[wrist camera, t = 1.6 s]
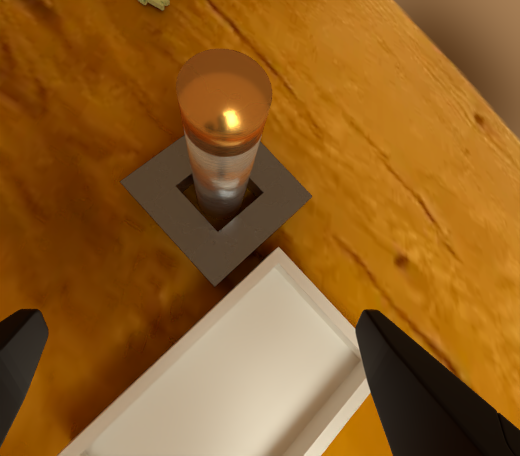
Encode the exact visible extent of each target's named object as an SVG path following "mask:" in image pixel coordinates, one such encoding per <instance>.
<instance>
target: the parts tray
mask: <svg viewBox="0 0 520 456" xmlns="http://www.w3.org/2000/svg"><path fill="white" fill-rule="evenodd" d="M369 394H370V389H369V386H368V382H367V379H366V375H365V371H364V367H363V363H362V358H361V354H360V350H359V346H358V342H357V338H356V333H355V328H354V327H353V326H352V325H351V324H350V323H349V322H348V321H347V320H346V319H345V317H344V316H343V315H342V314H341V313H340V312H339V311H338V310H337V309H336V308H335V307H334V306H333V305H332V304H331V302H330V301H329V300H328V299H327V298H326V297H325V296H324V295H323V294H322V293H321V292H320V291H319V290H318V288H317V287H316V286H315V285H314V284H313V283H312V282H311V281H310V280H309V279H308V278H307V277H306V276H305V275H304V273H303V272H302V271H301V270H300V269H299V268H298V267H297V266H296V265H295V264H294V263H293V262H292V261H291V259H290V258H289V257H288V256H287V255H286V254H285V253H284V252H283V251H282V250H281V249H280V248H279V247H278V248H276V249H275V250H274V251H272V252H271V253H270V254H269V255H268V256H267V257H266V258H265V259H263V260H262V261H261V262H260V263H259V264H258V265H257V266H256V267H255V268H254V269H253V270H252V271H251V272H250V273H249V274H248V275H247V276H245V277H244V278H243V279H242V280H241V281H240V282H239V283H238V284H237V285H236V286H235V287H234V288H233V289H232V290H231V291H230V292H229V293H227V294H226V295H225V296H224V297H223V298H222V299H221V300H220V301H219V302H218V303H217V304H216V305H215V306H214V307H213V308H212V309H210V310H209V311H208V312H207V313H206V314H205V315H204V316H203V317H202V318H201V319H200V320H199V321H198V322H197V323H196V324H195V325H194V326H192V327H191V328H190V329H189V330H188V331H187V332H186V333H185V334H184V335H183V336H182V337H181V338H180V339H179V340H178V341H177V342H176V343H174V344H173V345H172V346H171V347H170V348H169V349H168V350H167V351H166V352H165V353H164V354H163V355H162V356H161V357H160V358H159V359H157V360H156V361H155V362H154V363H153V364H152V365H151V366H150V367H149V368H148V369H147V370H146V371H145V372H144V373H143V374H142V375H141V376H139V377H138V378H137V379H136V380H135V381H134V382H133V383H132V384H131V385H130V386H129V387H128V388H127V389H126V390H125V391H124V392H123V393H121V394H120V395H119V396H118V397H117V398H116V399H115V400H114V401H113V402H112V403H111V404H110V405H109V406H108V407H107V408H106V409H104V410H103V411H102V412H101V413H100V414H99V415H98V416H97V417H96V418H95V419H94V420H93V421H92V422H91V423H90V424H89V425H88V426H86V427H85V428H84V429H83V430H82V431H81V432H80V433H79V434H78V435H77V436H76V437H75V438H74V439H73V440H72V441H71V442H70V443H69V444H68V445H67V446H66V447H65V448H64V449H63V450H62V451H61V452H60V453H59V454H58V455H57V456H321V455H322V453H323V452H324V451H325V450H326V448H327V447H328V446H329V444H330V443H331V442H332V441H333V439H334V438H335V437H336V436H337V434H338V433H339V432H340V430H341V429H342V428H343V427H344V425H345V424H346V423H347V422H348V420H349V419H350V418H351V416H352V415H353V414H354V413H355V411H356V410H357V409H358V408H359V406H360V405H361V404H362V402H363V401H364V400H365V399H366V397H367V396H368V395H369Z"/></svg>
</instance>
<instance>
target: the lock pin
mask: <svg viewBox="0 0 520 456" xmlns="http://www.w3.org/2000/svg"><path fill="white" fill-rule="evenodd" d="M176 91H177V97H178V102H179V108H180V113H181V118H182V123H183V128H184V133H185V139H186V144H187V149H188V154H189V159H190V164H191V170H192V175H193V180H194V185H195V190H196V195H197V201H198V205H199V207H200V209H201V210H202V212H203V213H204V214H206V215H207V216H209V217H211V218H213V219H218V220H222V219H227V218H230V217H232V216H233V215H235V214H236V213H237V212H238V210H239V209H240V207H241V204H242V201H243V198H244V194H245V191H246V187H247V184H248V180H249V177H250V174H251V170H252V167H253V163H254V160H255V156H256V153H257V150H258V146H259V143H260V139H261V136H262V132H263V129H264V126H265V122H266V119H267V115H268V112H269V108H270V105H271V101H272V88H271V83H270V80H269V78H268V76H267V74H266V73H265V71H264V70H263V68H262V67H261V66H260V65H259V64H258V63H257V62H256V61H254V60H253V59H252V58H250V57H248V56H247V55H245V54H243V53H240V52H237V51H234V50H229V49H211V50H206V51H203V52H201V53H198V54H196V55H195V56H193V57H192V58H190V59H189V60H188V61H187V62H186V63H185V64H184V65H183V67H182V68H181V70H180V72H179V74H178V77H177V82H176Z"/></svg>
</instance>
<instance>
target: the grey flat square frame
mask: <svg viewBox="0 0 520 456" xmlns="http://www.w3.org/2000/svg"><path fill="white" fill-rule="evenodd" d="M120 182H121V184H122V185H123V186H124V187H125V188H126V189H127V191H128V192H129V193H130V194H131V195H132V196H133V197H134V198H135V199H136V201H137V202H138V203H139V204H140V205H141V206H142V207H143V208H144V209H145V211H146V212H147V213H148V214H149V215H150V216H151V217H152V218H153V219H154V221H155V222H156V223H157V224H158V225H159V226H160V227H161V228H162V229H163V231H164V232H165V233H166V234H167V235H168V236H169V237H170V238H171V239H172V240H173V242H174V243H175V244H176V245H177V246H178V247H179V248H180V249H181V250H182V252H183V253H184V254H185V255H186V256H187V257H188V258H189V259H190V260H191V262H192V263H193V264H194V265H195V266H196V267H197V268H198V269H199V270H200V272H201V273H202V274H203V275H204V276H205V277H206V278H207V279H208V280H209V281H210V283H211V284H212V285H213V286H214V287H215V286H217V285H218V284H219V283H220V282H221V281H222V280H223V279H224V278H225V277H226V276H227V275H228V274H230V273H231V272H232V271H233V270H234V269H235V268H236V267H237V266H238V265H239V264H240V263H242V262H243V261H244V260H245V259H246V258H247V257H248V256H249V255H250V254H251V253H252V252H253V251H255V250H256V249H257V248H258V247H259V246H260V245H261V244H262V243H263V242H264V241H265V240H266V239H268V238H269V237H270V236H271V235H272V234H273V233H274V232H275V231H276V230H277V229H278V228H279V227H281V226H282V225H283V224H284V223H285V222H286V221H287V220H288V219H289V218H290V217H291V216H292V215H294V214H295V213H296V212H297V211H298V210H299V209H300V208H301V207H302V206H303V205H304V204H305V203H306V202H307V201H308V200H309V199H310V198H311V197H312V195H311V194H310V193H309V192H308V191H307V190H306V189H305V188H304V187H303V186H302V185H301V184H300V183H299V182H298V181H297V180H296V179H295V178H294V177H293V175H292V174H291V173H290V172H289V171H288V170H287V169H286V168H285V167H284V166H283V165H282V164H281V163H280V162H279V161H278V160H277V159H276V158H275V157H274V156H273V155H272V153H271V152H270V151H269V150H268V149H267V148H266V147H265V146H264V145H263V144H262V143H261V142H260V143H259V146H258V150H257V153H256V156H255V160H254V163H253V167H252V170H251V174H250V177H249V180H248V184H247V188H248V189H249V190H250V191H251V192H252V193H253V194H254V195H255V196H256V197H257V199H256V200H255V201H254V202H252V203H251V204H250V205H249V206H248V207H247V208H246V209H244V210H243V211H242V212H241V213H240V214H239V215H237V216H236V217H235V218H234V219H233V220H232V221H230V222H229V223H228V224H227V225H226V226H225V227H223V228H222V229H221V230H220V231H219V232H217V231H216V230H215V229H214V227H213V226H212V225H211V224H210V223H209V222H208V221H207V220H206V219H205V218H204V217H203V215H202V214H201V213H200V212H199V211H198V210H197V209H196V208H195V207H194V206H193V205H192V204H191V202H190V201H189V200H188V199H187V198H186V197H185V196H184V195H183V194H182V192H183V191H184V190H186V189H187V188H188V187H189V186H191V185H192V184H193V183H194V180H193V175H192V170H191V164H190V159H189V154H188V149H187V144H186V139H185V135H184V136H182V137H181V138H180V139H178V140H177V141H176V142H174V143H173V144H171V145H170V146H169V147H167V148H166V149H164V150H163V151H162V152H160V153H159V154H158V155H156V156H155V157H153V158H152V159H151V160H149V161H148V162H146V163H145V164H144V165H142V166H141V167H139V168H138V169H137V170H135V171H134V172H133V173H131V174H130V175H128V176H127V177H126V178H124V179H123V180H121V181H120Z"/></svg>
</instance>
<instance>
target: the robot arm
mask: <svg viewBox="0 0 520 456" xmlns="http://www.w3.org/2000/svg"><path fill="white" fill-rule="evenodd" d="M355 333H356V338H357V342H358V346H359V350H360V354H361V358H362V363H363V367H364V371H365V375H366V379H367V382H368V386H369V389H370V392H371V395H372V397H373V400H374V403H375V406H376V409H377V411H378V414H379V417H380V420H381V423H382V426H383V428H384V431H385V434H386V437H387V440H388V443H389V445H390V448H391V451H392V454H393V456H520V430H519V429H518V428H517V427H516V426H514V425H513V424H512V423H511V422H510V421H508V420H507V419H506V418H505V417H504V416H503V415H501V414H500V413H497V411H496V410H495V409H494V408H493V407H492V406H491V405H489V404H488V403H487V402H486V401H485V400H484V399H482V398H481V397H480V396H479V395H478V394H477V393H475V392H474V391H473V390H472V389H471V388H469V387H468V386H467V385H466V384H465V383H464V382H462V381H461V380H460V379H459V378H458V377H456V376H455V375H454V374H453V373H452V372H451V371H449V370H448V369H447V368H446V367H445V366H443V365H442V364H441V363H440V362H439V361H438V360H436V359H435V358H434V357H433V356H432V355H431V354H429V353H428V352H427V351H426V350H425V349H423V348H422V347H421V346H420V345H419V344H418V343H416V342H415V341H414V340H413V339H412V338H410V337H409V336H408V335H407V334H406V333H405V332H403V331H402V330H401V329H400V328H399V327H397V326H396V325H395V324H394V323H393V322H392V321H390V320H389V319H388V318H387V317H386V316H385V315H383V314H382V313H381V312H380V311H378V310H374V309H366V310H364V311H363V312H362V314H361V316H360V318H359V320H358V323H357V325H356V329H355ZM47 338H48V327H47V325H46V322H45V320H44V318H43V315H42V313H41V311H40V310H38V309H20V310H18V311H16V312H15V313H13V314H12V315H10V316H9V317H7V318H6V319H4V320H3V321H1V322H0V447H1V445H2V443H3V441H4V439H5V437H6V435H7V433H8V431H9V429H10V427H11V425H12V423H13V421H14V419H15V417H16V415H17V413H18V411H19V409H20V407H21V405H22V403H23V400H24V398H25V396H26V394H27V391H28V389H29V386H30V384H31V381H32V378H33V376H34V373H35V370H36V368H37V365H38V362H39V360H40V357H41V354H42V352H43V349H44V346H45V344H46V341H47Z"/></svg>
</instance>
